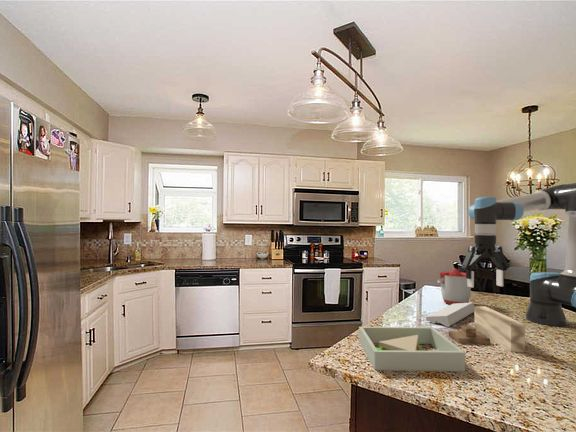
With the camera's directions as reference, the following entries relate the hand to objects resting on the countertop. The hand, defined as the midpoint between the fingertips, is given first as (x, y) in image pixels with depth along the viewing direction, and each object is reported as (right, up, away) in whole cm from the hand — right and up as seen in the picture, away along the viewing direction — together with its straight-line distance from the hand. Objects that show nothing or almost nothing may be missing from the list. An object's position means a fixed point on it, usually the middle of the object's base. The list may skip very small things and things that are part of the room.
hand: (485, 286), depth 131 cm
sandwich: (-38, -21, -18) cm, 47 cm away
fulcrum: (-9, -20, -4) cm, 23 cm away
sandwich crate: (-39, -20, -19) cm, 48 cm away
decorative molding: (-4, -21, +29) cm, 36 cm away
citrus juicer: (+14, -21, +51) cm, 57 cm away
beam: (+3, -21, -3) cm, 21 cm away
